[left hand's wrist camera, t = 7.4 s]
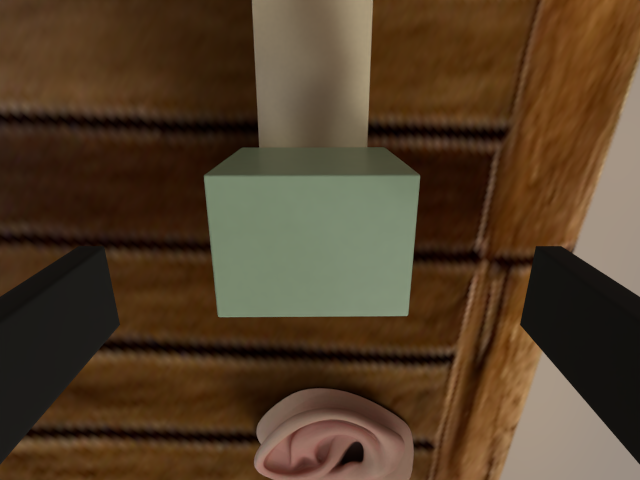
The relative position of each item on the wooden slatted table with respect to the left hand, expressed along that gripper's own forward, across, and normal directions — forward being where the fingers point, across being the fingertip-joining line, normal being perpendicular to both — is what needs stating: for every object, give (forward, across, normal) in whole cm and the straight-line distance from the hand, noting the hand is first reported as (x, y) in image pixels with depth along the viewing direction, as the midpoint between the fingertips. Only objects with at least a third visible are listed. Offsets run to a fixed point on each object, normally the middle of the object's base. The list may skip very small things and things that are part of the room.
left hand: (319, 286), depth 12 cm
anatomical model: (+14, +2, -22) cm, 26 cm away
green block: (+12, 0, 0) cm, 12 cm away
